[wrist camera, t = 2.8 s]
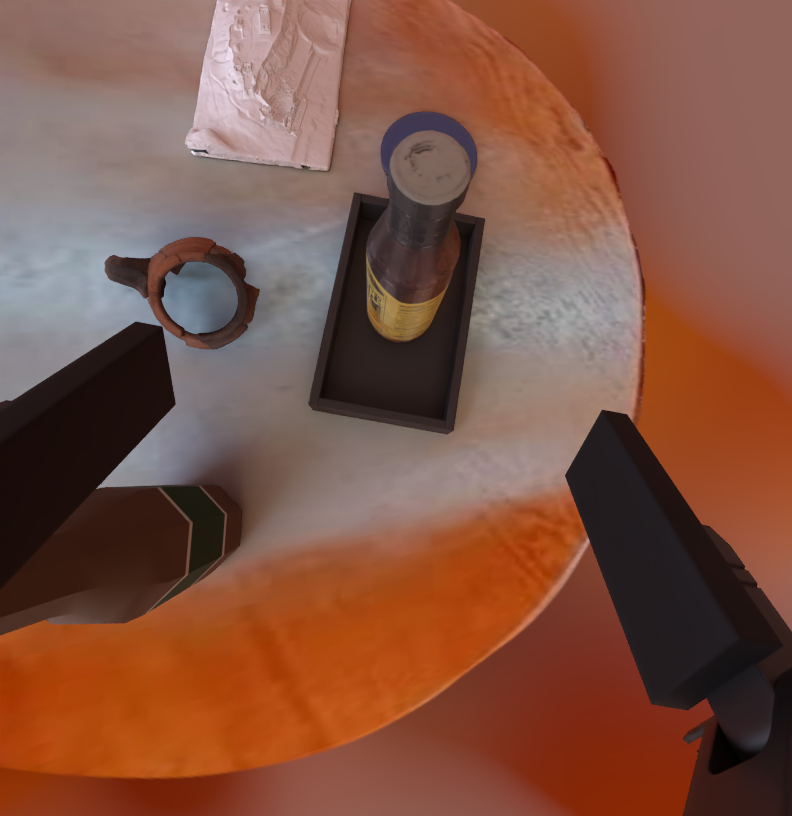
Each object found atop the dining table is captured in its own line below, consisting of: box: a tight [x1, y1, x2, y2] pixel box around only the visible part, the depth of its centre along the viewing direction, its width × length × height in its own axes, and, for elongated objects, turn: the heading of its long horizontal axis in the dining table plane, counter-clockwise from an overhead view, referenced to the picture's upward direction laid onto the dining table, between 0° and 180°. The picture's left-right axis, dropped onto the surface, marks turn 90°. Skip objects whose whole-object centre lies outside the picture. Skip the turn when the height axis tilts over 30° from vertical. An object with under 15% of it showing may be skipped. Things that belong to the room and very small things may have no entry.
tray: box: [308, 193, 485, 434], centre depth 38 cm, size 13×21×3 cm, turn 170°
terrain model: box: [184, 0, 351, 171], centre depth 41 cm, size 17×23×5 cm
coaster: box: [381, 112, 477, 180], centre depth 42 cm, size 10×10×1 cm
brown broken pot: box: [105, 237, 260, 349], centre depth 36 cm, size 12×10×8 cm
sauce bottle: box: [366, 130, 471, 343], centre depth 29 cm, size 6×6×20 cm
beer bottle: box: [0, 485, 242, 635], centre depth 23 cm, size 8×8×24 cm
